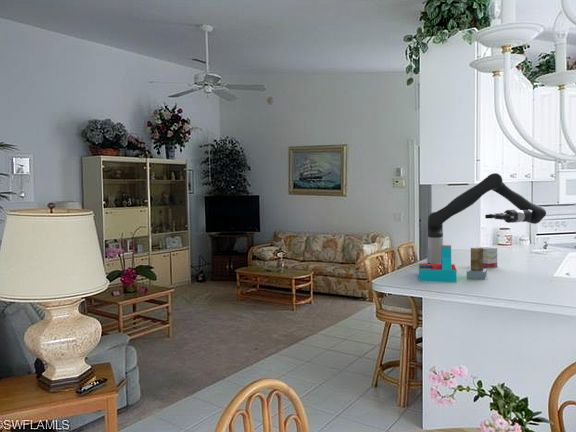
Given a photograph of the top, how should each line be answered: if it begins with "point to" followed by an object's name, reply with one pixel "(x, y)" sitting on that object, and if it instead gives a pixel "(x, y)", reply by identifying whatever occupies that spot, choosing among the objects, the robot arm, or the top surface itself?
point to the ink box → (489, 257)
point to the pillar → (477, 259)
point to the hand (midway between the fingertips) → (490, 216)
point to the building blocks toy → (439, 268)
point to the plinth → (476, 274)
